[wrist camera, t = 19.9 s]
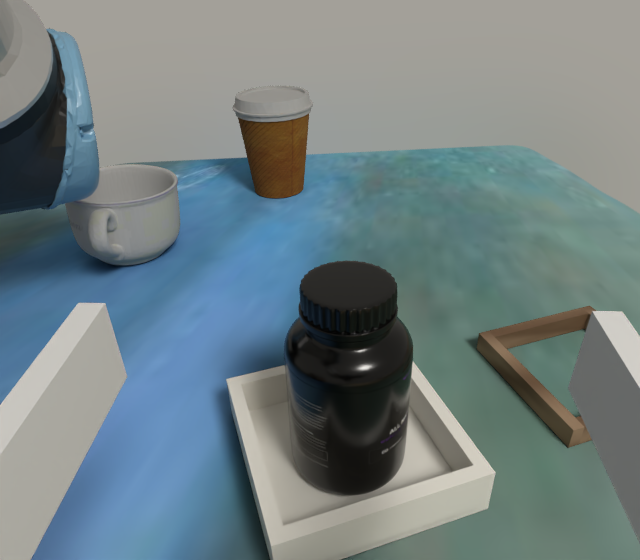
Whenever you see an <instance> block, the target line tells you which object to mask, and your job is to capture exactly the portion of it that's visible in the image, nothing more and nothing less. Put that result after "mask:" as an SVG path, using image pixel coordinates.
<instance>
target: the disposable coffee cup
mask: <svg viewBox="0 0 640 560" xmlns="http://www.w3.org/2000/svg"><path fill="white" fill-rule="evenodd" d="M312 105H313V103H312V101H311V100H310V99H309V94H308V91H307V90H305V89H303V88H299V87H292V86H267V87H258V88H252V89H248V90H244V91H241V92H239V93H238V94H237V95H236V98H235V104H234V106H233V110H234V111H235V112H236V116H237V117H238V119H239V123H240V128H241V132H242V136H243V140H244V144H245V149H246V153H247V158H248V162H249V166H250V170H251V175H252V179H253V183H254V187H255V192H256V193H257V194H258V195H260V196H263V197H268V198H285V197H290V196H293V195H296V194H298V193H300V192H301V191H302V190H303V185H304V172H305V160H306V146H307V134H308V133H307V132H308V120H309V113H310V111H311V107H312Z"/></svg>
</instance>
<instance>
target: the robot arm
mask: <svg viewBox="0 0 640 560" xmlns="http://www.w3.org/2000/svg"><path fill="white" fill-rule="evenodd" d="M93 126H94V124H93V117H92V108H91V102H90V96H89V92H88V86H87V81H86V76H85V71H84V67H83V63H82V59H81V55H80V51H79V49H78V45H77V43H76V41H75V39H74V38H73V37H72V36H71V35H69V34H68V33H66V32H57V31H55V30H53V29H46V28H45V27H44V25H43V23H42V21H41V19H40V18H39V16H38V14H37V13H36V12H35V11H34V10H33V9H32V8H31V6H30V5H29V4H27V3H26V2H25V1H24V0H0V215H1V214H7V213H13V212H19V211H25V210H31V209H37V208H42V209H53V208H55V207H56V206H58V205H60V204H64V203H69V202H74V201H78V200H82V199H85V198H87V197H89V196H91V195H92V194H93V193H94V192H95V190H96V189H97V187H98V184H99V176H100V172H99V158H98V149H97V142H96V136H95V132H94V130H93ZM126 378H127V374H126V371H125V368H124V364H123V361H122V358H121V354H120V351H119V348H118V344H117V341H116V338H115V334H114V331H113V328H112V324H111V321H110V318H109V314H108V311H107V308H106V304H105V303H78V304H77V305H76V307H75V308H74V309H73V311H72V312H71V313H70V315H69V316H68V317H67V319H66V320H65V321H64V322H63V324H62V325H61V326H60V328H59V329H58V330H57V332H56V333H55V334H54V336H53V337H52V338H51V339H50V341H49V342H48V343H47V345H46V346H45V347H44V349H43V350H42V351H41V353H40V354H39V355H38V356H37V358H36V359H35V360H34V362H33V363H32V364H31V366H30V367H29V368H28V370H27V371H26V372H25V373H24V375H23V376H22V377H21V379H20V380H19V381H18V383H17V384H16V385H15V387H14V388H13V389H12V390H11V392H10V393H9V394H8V396H7V397H6V398H5V400H4V401H3V402H2V404H1V405H0V560H31V558H32V556H33V555H34V553H35V551H36V549H37V547H38V545H39V543H40V541H41V539H42V538H43V536H44V534H45V532H46V530H47V528H48V526H49V524H50V522H51V520H52V519H53V517H54V515H55V513H56V511H57V509H58V507H59V505H60V503H61V501H62V500H63V498H64V496H65V494H66V492H67V490H68V488H69V486H70V484H71V482H72V481H73V479H74V477H75V475H76V473H77V471H78V469H79V467H80V465H81V463H82V462H83V460H84V458H85V456H86V454H87V452H88V450H89V448H90V446H91V444H92V443H93V441H94V439H95V437H96V435H97V433H98V431H99V429H100V427H101V425H102V424H103V422H104V420H105V418H106V416H107V414H108V412H109V410H110V408H111V406H112V405H113V403H114V401H115V399H116V397H117V395H118V393H119V391H120V389H121V387H122V386H123V384H124V382H125V380H126ZM568 389H569V391H570V393H571V395H572V397H573V400H574V402H575V404H576V406H577V408H578V411H579V413H580V415H581V417H582V419H583V421H584V424H585V426H586V428H587V430H588V432H589V434H590V437H591V439H592V441H593V443H594V445H595V447H596V450H597V452H598V454H599V456H600V458H601V461H602V463H603V465H604V467H605V469H606V471H607V474H608V476H609V478H610V480H611V482H612V484H613V487H614V489H615V491H616V493H617V495H618V497H619V500H620V502H621V504H622V506H623V508H624V510H625V513H626V515H627V517H628V519H629V521H630V524H631V526H632V528H633V530H634V532H635V534H636V537H637V539H638V541H639V543H640V336H639V335H638V333H637V332H636V330H635V329H634V327H633V326H632V325H631V323H630V322H629V320H628V319H627V317H626V316H625V315H624V313H623V312H618V311H592V313H591V316H590V319H589V323H588V326H587V329H586V332H585V335H584V339H583V342H582V345H581V348H580V351H579V355H578V358H577V361H576V364H575V367H574V371H573V374H572V377H571V380H570V383H569V387H568Z"/></svg>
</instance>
